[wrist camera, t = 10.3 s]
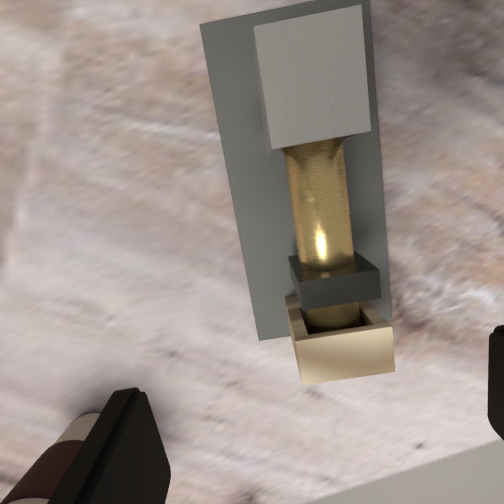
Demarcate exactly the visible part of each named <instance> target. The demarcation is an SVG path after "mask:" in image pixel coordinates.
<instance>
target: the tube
mask: <svg viewBox="0 0 504 504" xmlns="http://www.w3.org/2000/svg"><path fill="white" fill-rule="evenodd" d="M283 153H284V160H285V166H286V173H287V180H288V187H289V194H290V201H291V208H292V215H293V222H294V229H295V236H296V243H297V250H298V255H294V256H288V261H289V268H290V274H291V280H292V282H293V285H294V288H295V291H296V294H297V297H298V299H299V302H300V305H301V308H302V311H304V310H306V313H307V320H308V327H309V334H310V335H311V334H317V333H324V332H330V331H337V330H343V329H350V328H356V327H361V323H360V313H359V302H361V301H368V300H374V299H380V298H382V297H381V284H380V272H379V269H378V268H377V267H375V266H374V265H373V264H372V263H370V262H369V261H368V260H366V259H365V258H364V257H362V256H361V255H360V254H358V253H357V252H356V251H355V250H353V241H352V231H351V221H350V211H349V201H348V191H347V181H346V170H345V160H344V150H343V140H342V137H339V138H334V139H328V140H323V141H317V142H312V143H306V144H301V145H295V146H290V147H285V148H283Z"/></svg>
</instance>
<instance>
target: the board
mask: <svg viewBox="0 0 504 504" xmlns="http://www.w3.org/2000/svg"><path fill="white" fill-rule="evenodd" d="M356 5H361V7H362V20H363V33H364V46H365V59H366V72H367V85H368V98H369V111H370V124H371V131H370V132H367V133H364V134H361V135H359V136H356V137H353V138H350V139H348V140H345V141H343V150H344V160H345V170H346V181H347V191H348V201H349V211H350V221H351V231H352V241H353V250H355V251H356V252H357V253H358V254H360V255H361V256H362V257H364V258H365V259H366V260H368V261H369V262H370V263H372V264H373V265H374V266H375V267H377V268H378V269H379V272H380V284H381V297H382V298H380V299H374V300H368V301H369V302H370V303H371V304H372V305H373V306H374V307H375V308H376V309H377V311H378V312H379V313H380V314H381V315H382V316H383V317H384V318H385V319H386V321H391V320H392V312H391V298H390V284H389V270H388V256H387V242H386V228H385V214H384V200H383V186H382V172H381V157H380V143H379V129H378V115H377V101H376V87H375V73H374V59H373V45H372V31H371V17H370V3H369V0H316V1H311V2H306V3H301V4H297V5H292V6H287V7H282V8H277V9H272V10H267V11H263V12H258V13H253V14H248V15H243V16H238V17H233V18H229V19H224V20H219V21H214V22H209V23H204V24H199V25H200V31H201V36H202V41H203V46H204V52H205V57H206V62H207V68H208V73H209V78H210V84H211V89H212V94H213V100H214V105H215V110H216V115H217V121H218V126H219V131H220V137H221V142H222V147H223V153H224V158H225V163H226V168H227V174H228V179H229V184H230V190H231V195H232V200H233V206H234V211H235V216H236V222H237V227H238V232H239V237H240V243H241V248H242V253H243V259H244V264H245V269H246V275H247V280H248V285H249V290H250V296H251V301H252V306H253V312H254V317H255V322H256V328H257V333H258V338H259V341H261V340H268V339H274V338H281V337H287V336H291V334H290V328H289V322H288V316H287V310H286V303H285V297H290V296H296V295H297V294H296V291H295V288H294V285H293V282H292V280H291V274H290V268H289V261H288V256H294V255H298V250H297V243H296V236H295V229H294V222H293V215H292V208H291V201H290V194H289V187H288V180H287V173H286V166H285V160H284V153H283V152H281V153H276V154H270V155H268V153H266V148H265V142H264V135H263V132H264V127H263V121H262V114H261V108H260V102H259V97H257V91H256V84H255V78H254V48H253V26H258V25H263V24H268V23H272V22H277V21H282V20H287V19H292V18H297V17H302V16H307V15H312V14H317V13H321V12H326V11H331V10H336V9H341V8H346V7H351V6H356Z"/></svg>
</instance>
